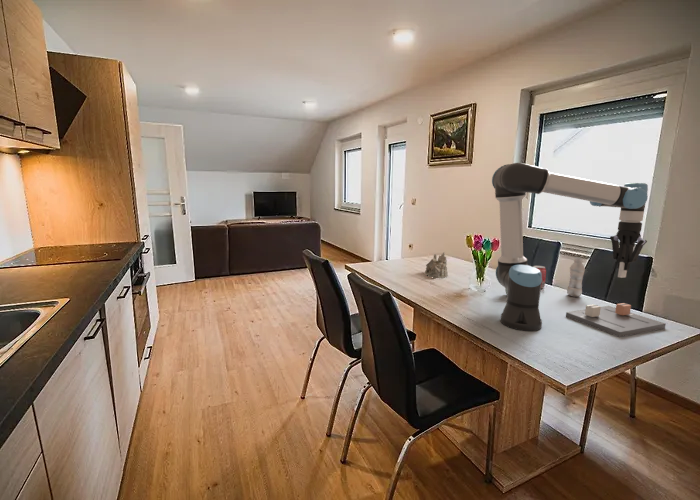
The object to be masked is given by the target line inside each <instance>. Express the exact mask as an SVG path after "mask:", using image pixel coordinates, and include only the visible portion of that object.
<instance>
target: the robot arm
mask: <svg viewBox="0 0 700 500" xmlns="http://www.w3.org/2000/svg"><path fill="white" fill-rule="evenodd" d="M491 184H492V187H493V188H494V191H495V192H494V194H495V195H494V196H495V199H496V200H497V201H498V203H499V222H500V224H499V225H500V252H501V256H500V257H498V259H497V266H496V269H495V276H496V281H497V282H498V283H499V284H500V285H501V286H502V287H504V288H506V289H507V290H508V293H507V294H506V296H507V297H506V304H505V306H504V308H503V311H502V312H501V314H500V319H499V320H500V323H501V324H503V326H506V327H508V328H510V329H515V330H519V331H525V332H526V331H527V332H533V331H534V332H535V331H539V330H542V327H543V320H542V318H541V313H540V310H539V308H540V305H539V304H540V297H541V290H542V289H541V282H542V273H541V271H540V270H539V269H537V268H535V267H534V266H531V265H529V264H528V258H527V257H525V256H524V243H523V242H524V240H523V238H524V236H523V235H524V234H523V233H524V232H523V203H522V202H523V199H524V198H525V197H526V193H532V194H536V195H540V194H541V193H546V194H551V195H555V196H556V195H557V196H560V197H567V198H571V199H578V200H582V201H587V202H589V203H590V205H591V206H593V207H609V208H620V211H619V212H620V213H619V217H618V218H619V219H618V220H619V221H618V226H617V232H616V234H615V235H612V236H610V237H609V239H610V241H611V246H612V257H613V259H614V260H616V261H617V265H616V267H617V269H618V273H617V278H621V279H622V278H627V272H628V271H629V270H630V267H631V263H635V262H637V261H638V258H639V255H640V254H641V251H642V249H643V247H644V246H645V244H646V243H647V242H648V241H647V240H646V239H644V238H642V235H641V231H642V227H643V223H642V222H643V220H644V214H645V209H646V203H647V202H648V190H649V189H648V186H649V185H648V184H647V183H646V182H629V183H628V182H627V183H624V185H617V184H613V183H609V182H608V183H607V182H604V181H597V180H592V179H591V180H590V179H586V178H581V177H577V176H570V175H564V174H561V173H554V172H550V171H549V169H548V168H544V167H541V166H536V165H531V164H528V163H524V162H514V163H508V164H503V165H501V166H500V167H499V168H497V169H496V170H495V171H494V173H493V175H492V178H491Z"/></svg>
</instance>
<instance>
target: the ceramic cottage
mask: <svg viewBox="0 0 700 500" xmlns="http://www.w3.org/2000/svg"><path fill="white" fill-rule="evenodd" d="M445 254H446V253H445V252H442V253H441V255H439V256H438V255H437V254H434V255H433V258H431V260H430V261H428V263H427V264H425V266H426V268H425V269H426V270H425V271H424V273H425V274H424V275H426V274H427V275H428V276H429V277H433V278H432V279H435V278H441V279H445V277H446V278H447V277H449V274H448V266H447V265H448V264H447V261H448V260H447V256H446V255H445ZM437 256H438V257H437ZM427 275H426V276H427ZM428 276H427V277H428ZM429 277H428V278H429Z"/></svg>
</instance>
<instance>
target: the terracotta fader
mask: <svg viewBox="0 0 700 500" xmlns="http://www.w3.org/2000/svg"><path fill="white" fill-rule="evenodd" d="M615 308H616V311H615V313H617V314H620V315H629V314H630V312H631V310H632V309H631V308H632V305H631V304H628V303H625V302H622V303H616V305H615Z"/></svg>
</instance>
